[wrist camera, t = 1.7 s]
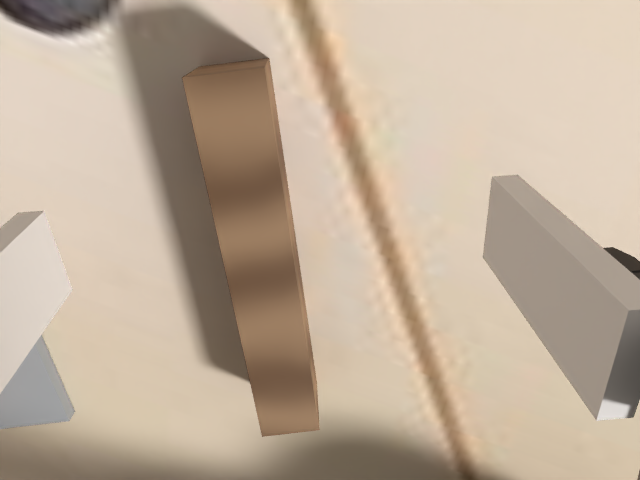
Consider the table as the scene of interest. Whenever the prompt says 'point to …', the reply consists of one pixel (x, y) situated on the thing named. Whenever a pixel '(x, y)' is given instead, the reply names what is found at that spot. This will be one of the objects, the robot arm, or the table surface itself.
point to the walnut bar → (256, 236)
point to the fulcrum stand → (35, 392)
